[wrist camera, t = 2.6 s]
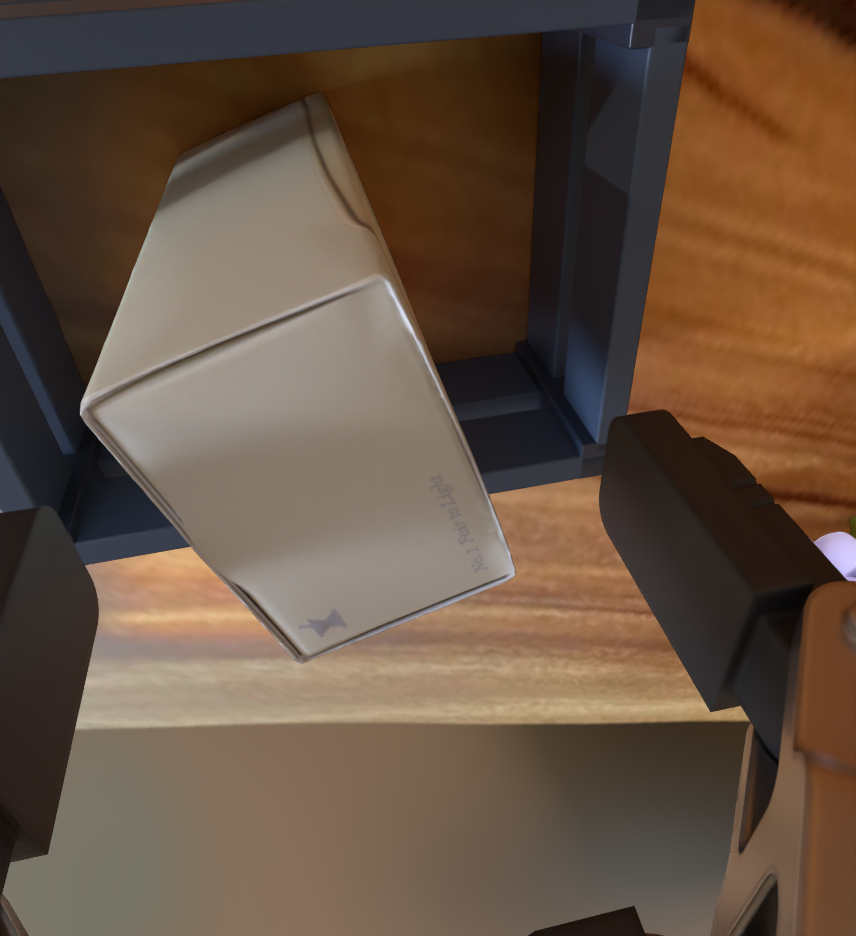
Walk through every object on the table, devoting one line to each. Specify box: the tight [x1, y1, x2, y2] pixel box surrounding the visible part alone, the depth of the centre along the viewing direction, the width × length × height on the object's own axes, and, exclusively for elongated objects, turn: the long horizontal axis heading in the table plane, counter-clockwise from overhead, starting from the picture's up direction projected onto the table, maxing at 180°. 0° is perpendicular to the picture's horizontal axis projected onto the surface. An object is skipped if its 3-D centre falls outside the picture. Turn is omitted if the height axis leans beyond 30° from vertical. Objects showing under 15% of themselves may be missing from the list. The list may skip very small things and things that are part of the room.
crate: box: [0, 0, 695, 565], centre depth 17 cm, size 16×12×6 cm
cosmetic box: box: [80, 92, 516, 664], centre depth 15 cm, size 6×4×12 cm
